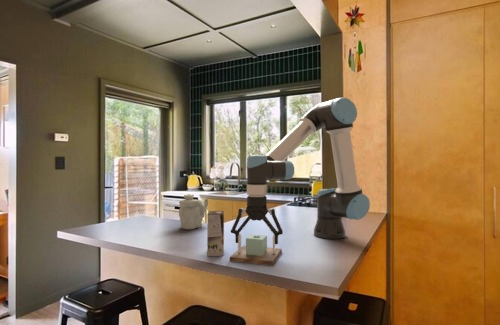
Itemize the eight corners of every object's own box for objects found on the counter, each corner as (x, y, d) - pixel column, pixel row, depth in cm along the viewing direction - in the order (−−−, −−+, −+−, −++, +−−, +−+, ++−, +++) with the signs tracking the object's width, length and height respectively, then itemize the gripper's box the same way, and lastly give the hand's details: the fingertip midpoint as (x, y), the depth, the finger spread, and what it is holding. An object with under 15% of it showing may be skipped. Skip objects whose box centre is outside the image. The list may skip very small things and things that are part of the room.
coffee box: (223, 256, 115) (223, 214, 115) (206, 256, 114) (207, 214, 114) (223, 249, 124) (223, 210, 124) (208, 249, 123) (208, 210, 123)
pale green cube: (266, 251, 116) (266, 234, 116) (262, 255, 110) (262, 238, 110) (251, 249, 118) (251, 233, 118) (245, 254, 112) (245, 237, 112)
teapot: (207, 223, 176) (207, 191, 176) (209, 229, 161) (209, 194, 161) (178, 225, 172) (178, 192, 172) (178, 230, 158) (178, 195, 158)
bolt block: (281, 252, 119) (281, 237, 119) (272, 265, 104) (272, 248, 104) (243, 249, 124) (243, 234, 124) (229, 261, 109) (229, 244, 109)
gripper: (289, 195, 116) (288, 250, 116) (226, 194, 119) (226, 248, 119) (289, 197, 109) (289, 256, 109) (223, 196, 111) (222, 253, 111)
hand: (256, 252), depth 114 cm, fingers open, 12 cm apart
